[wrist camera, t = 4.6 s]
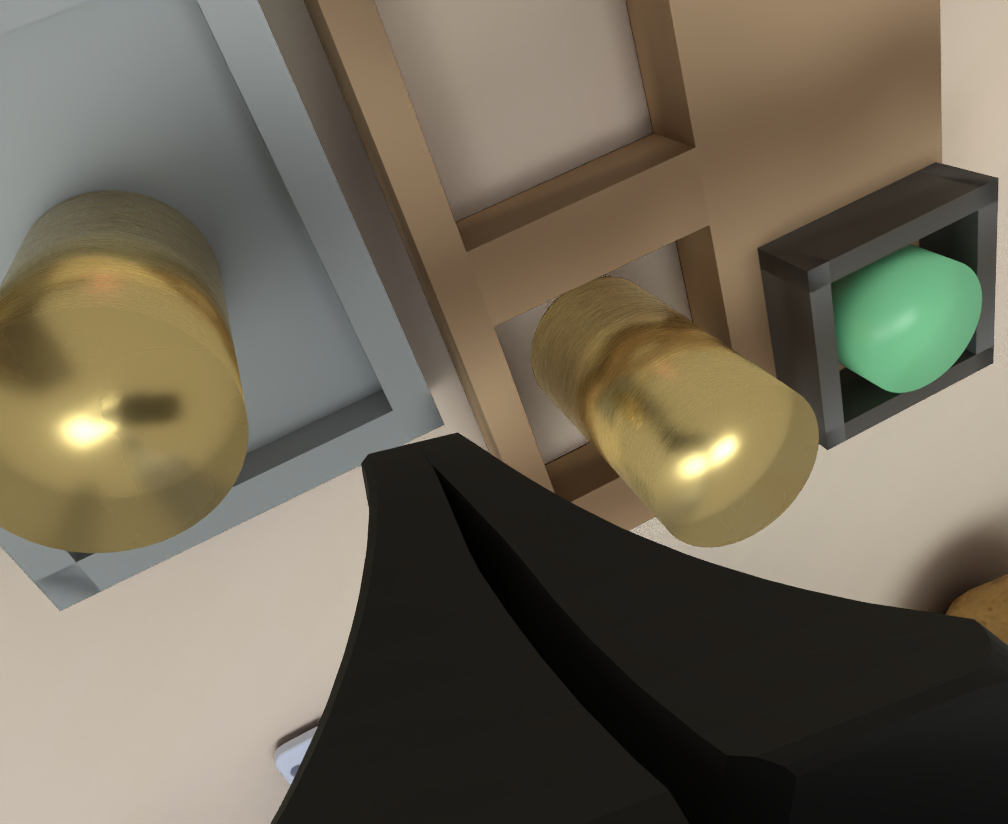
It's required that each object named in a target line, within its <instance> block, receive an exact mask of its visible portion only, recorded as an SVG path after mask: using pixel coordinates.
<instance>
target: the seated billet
mask: <svg viewBox="0 0 1008 824" xmlns="http://www.w3.org/2000/svg"><path fill="white" fill-rule="evenodd" d="M531 360H532V368H533V372H534V375H535V378H536V380H537V382H538V384H539V385H540V387H541V389H542V390H543V391H544V392H545V393H546V394H547V395H548V397H549V398H550V399H551V400H552V401H553V402H554V403H555V404H556V405H557V407H558V408H559V409H560V410H561V411H562V412H563V413H564V414H565V416H566V417H567V418H568V419H569V420H570V421H571V422H572V423H573V425H574V426H575V427H576V428H577V429H578V430H579V431H580V432H581V433H582V435H583V436H584V437H585V438H586V439H587V440H588V441H589V442H590V444H591V445H592V446H593V447H594V448H595V449H596V450H597V451H598V452H599V454H600V455H601V456H602V457H603V458H604V459H605V460H606V461H607V463H608V464H609V465H610V466H611V467H612V468H613V469H614V470H615V471H616V473H617V474H618V475H619V476H620V477H621V478H622V479H623V480H624V482H625V483H626V484H627V485H628V486H629V487H630V488H631V489H632V490H633V492H634V493H635V494H636V495H637V496H638V497H639V498H640V499H641V501H642V502H643V503H644V504H645V505H646V506H647V507H648V508H649V509H650V511H651V512H652V513H653V514H654V515H655V516H656V517H657V518H658V520H659V521H660V522H661V523H662V524H663V525H664V526H665V527H666V529H667V530H668V531H669V532H670V533H671V534H672V535H673V536H675V537H676V538H677V539H679V540H681V541H682V542H684V543H687V544H690V545H693V546H699V547H719V546H725V545H729V544H733V543H735V542H738V541H741V540H743V539H746V538H748V537H750V536H752V535H754V534H755V533H757V532H759V531H760V530H762V529H763V528H765V527H766V526H768V525H769V524H770V523H772V522H773V521H774V520H775V519H776V518H778V517H779V516H780V515H781V514H782V513H783V512H784V511H785V510H786V509H787V508H788V507H789V506H790V504H791V503H792V502H793V501H794V500H795V498H796V497H797V495H798V494H799V493H800V491H801V490H802V488H803V486H804V485H805V483H806V481H807V479H808V477H809V475H810V473H811V471H812V468H813V465H814V462H815V459H816V455H817V451H818V443H819V429H818V423H817V419H816V416H815V414H814V411H813V409H812V408H811V406H810V404H809V403H808V402H807V401H806V400H805V399H804V397H802V396H801V395H800V394H798V393H797V392H796V391H794V390H793V389H791V388H790V387H788V386H787V385H785V384H784V383H782V382H781V381H779V380H778V379H776V378H775V377H773V376H772V375H770V374H769V373H767V372H766V371H764V370H763V369H761V368H760V367H758V366H757V365H756V364H754V363H753V362H751V361H750V360H748V359H747V358H745V357H744V356H742V355H741V354H739V353H738V352H736V351H735V350H733V349H732V348H730V347H729V346H727V345H726V344H724V343H723V342H721V341H720V340H718V339H717V338H715V337H714V336H712V335H711V334H709V333H708V332H706V331H705V330H703V329H702V328H700V327H699V326H697V325H696V324H695V323H693V322H692V321H690V320H689V319H687V318H686V317H684V316H683V315H681V314H680V313H678V312H677V311H675V310H674V309H672V308H671V307H669V306H668V305H666V304H665V303H663V302H662V301H660V300H659V299H657V298H656V297H654V296H653V295H651V294H650V293H648V292H647V291H645V290H644V289H642V288H641V287H639V286H638V285H636V284H635V283H633V282H631V281H628V280H625V279H622V278H616V277H601V278H596V279H594V280H592V281H589V282H587V283H585V284H583V285H581V286H579V287H577V288H575V289H573V290H570V291H568V292H566V293H564V294H562V295H561V296H560V297H559V298H558V299H557V300H556V301H555V302H554V303H553V304H552V305H551V306H550V307H549V309H548V310H547V312H546V313H545V314H544V316H543V318H542V320H541V321H540V323H539V325H538V328H537V330H536V333H535V336H534V340H533V344H532V356H531Z"/></svg>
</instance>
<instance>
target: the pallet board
mask: <svg viewBox="0 0 1008 824" xmlns="http://www.w3.org/2000/svg"><path fill="white" fill-rule="evenodd" d="M304 2H305V4H306V7H307V9H308V12H309V14H310V17H311V19H312V21H313V24H314V26H315V29H316V31H317V34H318V36H319V38H320V41H321V43H322V46H323V48H324V51H325V53H326V56H327V58H328V60H329V63H330V65H331V68H332V70H333V73H334V75H335V77H336V80H337V82H338V85H339V87H340V90H341V92H342V94H343V97H344V99H345V102H346V104H347V107H348V109H349V111H350V114H351V116H352V119H353V121H354V124H355V126H356V128H357V131H358V133H359V136H360V138H361V141H362V143H363V146H364V148H365V150H366V153H367V155H368V158H369V160H370V163H371V165H372V167H373V170H374V172H375V175H376V177H377V180H378V182H379V184H380V187H381V189H382V192H383V194H384V197H385V199H386V201H387V204H388V206H389V209H390V211H391V214H392V216H393V218H394V221H395V223H396V226H397V228H398V231H399V233H400V236H401V238H402V240H403V243H404V245H405V248H406V250H407V253H408V255H409V257H410V260H411V262H412V265H413V267H414V270H415V272H416V274H417V277H418V279H419V282H420V284H421V287H422V289H423V291H424V294H425V296H426V299H427V301H428V304H429V306H430V308H431V311H432V313H433V316H434V318H435V321H436V323H437V326H438V328H439V330H440V333H441V335H442V338H443V340H444V343H445V345H446V347H447V350H448V352H449V355H450V357H451V360H452V362H453V364H454V367H455V369H456V372H457V374H458V377H459V379H460V381H461V384H462V386H463V389H464V391H465V394H466V396H467V398H468V401H469V403H470V406H471V408H472V411H473V413H474V416H475V418H476V420H477V423H478V425H479V428H480V430H481V433H482V435H483V437H484V440H485V442H486V445H487V447H488V450H489V452H490V454H491V455H493V456H495V457H496V458H498V459H499V460H501V461H502V462H504V463H505V464H507V465H509V466H510V467H512V468H513V469H515V470H516V471H518V472H520V473H521V474H523V475H525V476H526V477H528V478H529V479H531V480H533V481H534V482H536V483H538V484H540V485H541V486H543V487H545V488H546V489H548V490H550V491H552V492H553V493H555V494H557V495H559V496H560V497H562V498H564V499H566V500H568V501H569V502H571V503H573V504H575V505H577V506H579V507H581V508H583V509H585V510H587V511H589V512H591V513H593V514H595V515H597V516H599V517H601V518H603V519H605V520H607V521H609V522H611V523H613V524H615V525H617V526H619V527H621V528H623V529H625V530H628V531H629V530H631V529H633V528H635V527H637V526H639V525H641V524H642V523H644V522H646V521H648V520H650V519H652V518H654V517H656V516H655V515H654V514H653V513H652V512H651V511H650V509H649V508H648V507H647V506H646V505H645V504H644V503H643V502H642V501H641V499H640V498H639V497H638V496H637V495H636V494H635V493H634V492H633V490H632V489H631V488H630V487H629V486H628V485H627V484H626V483H625V482H624V480H623V479H622V478H621V477H620V476H619V475H618V474H617V473H616V471H615V470H614V469H613V468H612V467H611V466H610V465H609V464H608V463H607V461H606V460H605V459H604V458H603V457H602V456H601V455H600V454H599V452H598V451H597V450H596V449H595V448H594V447H593V446H592V445H591V444H590V443H589V444H587V445H585V446H583V447H581V448H579V449H577V450H575V451H573V452H571V453H569V454H567V455H565V456H563V457H561V458H559V459H557V460H555V461H553V462H551V463H549V464H547V465H544V462H543V460H542V457H541V454H540V451H539V449H538V446H537V443H536V441H535V438H534V435H533V432H532V430H531V427H530V424H529V422H528V419H527V416H526V413H525V411H524V408H523V405H522V402H521V400H520V397H519V394H518V392H517V389H516V386H515V383H514V381H513V378H512V375H511V372H510V370H509V367H508V364H507V362H506V359H505V356H504V353H503V351H502V348H501V345H500V343H499V340H498V337H497V334H496V332H495V329H494V326H496V325H498V324H501V323H503V322H505V321H507V320H509V319H511V318H513V317H515V316H517V315H520V314H522V313H524V312H526V311H528V310H530V309H532V308H534V307H537V306H539V305H541V304H543V303H545V302H547V301H549V300H551V299H553V298H556V297H558V296H560V295H562V294H564V293H566V292H568V291H570V290H573V289H575V288H577V287H579V286H581V285H583V284H585V283H587V282H589V281H592V280H594V279H596V278H598V277H600V276H602V275H604V274H606V273H608V272H611V271H613V270H615V269H617V268H619V267H621V266H623V265H625V264H628V263H630V262H632V261H634V260H636V259H638V258H640V257H642V256H644V255H647V254H649V253H651V252H653V251H655V250H657V249H659V248H661V247H664V246H666V245H668V244H670V243H672V242H674V241H676V242H677V247H678V252H679V257H680V262H681V266H682V271H683V276H684V281H685V285H686V290H687V295H688V300H689V305H690V309H691V314H692V319H693V323H695V324H696V325H697V326H699V327H700V328H702V329H703V330H705V331H706V332H708V333H709V334H711V335H712V336H714V337H715V338H717V339H718V340H720V341H721V342H723V343H724V344H726V345H727V346H729V347H730V348H732V349H733V350H735V351H736V352H738V353H739V354H741V355H742V356H744V357H745V358H747V359H748V360H750V361H751V362H753V363H754V364H756V365H757V366H758V367H760V368H761V369H763V370H764V371H766V372H767V373H769V374H770V375H772V376H773V377H775V378H776V379H778V380H779V381H781V382H782V383H784V384H785V385H787V386H788V387H790V388H791V389H793V390H794V391H796V392H797V393H798V394H800V395H801V396H802V397H804V399H805V400H806V401H807V402H808V403H809V404H810V406H811V408H812V409H813V411H814V414H815V416H816V419H817V423H818V429H819V444H820V445H821V446H823V447H824V448H826V449H827V450H829V449H831V448H832V447H834V446H836V445H838V444H840V443H842V442H844V441H846V440H848V439H850V438H852V437H853V436H855V435H857V434H859V433H861V432H863V431H865V430H867V429H869V428H871V427H872V426H874V425H876V424H878V423H880V422H882V421H884V420H886V419H888V418H890V417H891V416H893V415H895V414H897V413H899V412H901V411H903V410H905V409H907V408H909V407H910V406H912V405H914V404H916V403H918V402H920V401H922V400H924V399H926V398H928V397H929V396H931V395H933V394H935V393H937V392H939V391H941V390H943V389H945V388H947V387H948V386H950V385H952V384H954V383H956V382H958V381H960V380H962V379H964V378H966V377H967V376H969V375H971V374H973V373H975V372H977V371H979V370H981V369H983V368H985V367H986V366H988V365H990V364H992V363H993V352H994V317H995V282H996V247H997V212H998V178H996V177H992V176H988V175H984V174H980V173H976V172H972V171H968V170H964V169H961V168H957V167H953V166H949V165H945V164H942V132H941V44H940V0H626V3H627V8H628V12H629V17H630V22H631V27H632V32H633V36H634V41H635V46H636V51H637V55H638V60H639V65H640V70H641V75H642V79H643V84H644V89H645V94H646V99H647V103H648V108H649V113H650V118H651V123H652V127H653V132H654V133H653V134H651V135H649V136H647V137H644V138H642V139H640V140H638V141H636V142H633V143H631V144H629V145H627V146H624V147H622V148H620V149H618V150H616V151H613V152H611V153H609V154H607V155H604V156H602V157H600V158H598V159H596V160H593V161H591V162H589V163H587V164H584V165H582V166H580V167H578V168H576V169H573V170H571V171H569V172H567V173H565V174H562V175H560V176H558V177H556V178H553V179H551V180H549V181H547V182H545V183H542V184H540V185H538V186H536V187H533V188H531V189H529V190H527V191H525V192H522V193H520V194H518V195H516V196H513V197H511V198H509V199H507V200H505V201H502V202H500V203H498V204H496V205H493V206H491V207H489V208H487V209H485V210H482V211H480V212H478V213H476V214H473V215H471V216H469V217H467V218H465V219H462V220H460V221H458V222H456V223H455V220H454V217H453V214H452V212H451V209H450V206H449V204H448V201H447V198H446V195H445V193H444V190H443V187H442V185H441V182H440V179H439V176H438V174H437V171H436V168H435V165H434V163H433V160H432V157H431V155H430V152H429V149H428V146H427V144H426V141H425V138H424V135H423V133H422V130H421V127H420V125H419V122H418V119H417V116H416V114H415V111H414V108H413V106H412V103H411V100H410V97H409V95H408V92H407V89H406V86H405V84H404V81H403V78H402V76H401V73H400V70H399V67H398V65H397V62H396V59H395V56H394V54H393V51H392V48H391V46H390V43H389V40H388V37H387V35H386V32H385V29H384V27H383V24H382V21H381V18H380V16H379V13H378V10H377V7H376V5H375V2H374V0H304ZM909 244H912V245H915V246H918V247H920V248H923V249H926V250H928V251H931V252H934V253H937V254H939V255H942V256H945V257H947V258H950V259H953V260H955V261H958V262H961V263H963V264H965V265H967V266H968V267H970V268H971V269H972V270H973V271H974V273H975V274H976V276H977V277H978V280H979V282H980V285H981V290H982V308H981V313H980V318H979V321H978V324H977V327H976V329H975V332H974V334H973V336H972V338H971V340H970V342H969V344H968V345H967V347H966V349H965V350H964V351H963V353H962V354H961V356H960V357H959V358H958V359H957V361H956V362H955V363H954V364H953V365H952V366H951V367H950V368H949V369H948V370H947V371H946V372H945V373H944V374H942V375H941V376H940V377H939V378H937V379H936V380H935V381H933V382H931V383H930V384H928V385H926V386H924V387H922V388H920V389H917V390H914V391H910V392H905V393H895V392H889V391H886V390H884V389H882V388H880V387H879V386H877V385H875V384H874V383H872V382H870V381H869V380H867V379H865V378H863V377H862V376H860V375H858V374H857V373H855V372H853V371H851V370H850V369H848V368H846V367H845V366H843V365H841V364H840V363H838V354H837V343H836V333H835V323H834V313H833V302H832V292H831V283H832V282H834V281H836V280H838V279H840V278H842V277H844V276H846V275H848V274H850V273H852V272H854V271H856V270H858V269H860V268H862V267H864V266H866V265H868V264H870V263H872V262H874V261H876V260H879V259H881V258H883V257H885V256H887V255H889V254H891V253H893V252H895V251H897V250H899V249H901V248H903V247H905V246H907V245H909Z"/></svg>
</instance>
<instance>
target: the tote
mask: <svg viewBox="0 0 1008 824" xmlns="http://www.w3.org/2000/svg"><path fill="white" fill-rule="evenodd" d="M104 190H117V191H128V192H133V193H139V194H142V195H145V196H149V197H152V198H154V199H157V200H159V201H161V202H164V203H166V204H167V205H169V206H171V207H173V208H174V209H176V210H177V211H179V212H180V213H182V214H183V215H184V216H186V217H187V218H188V219H189V220H190V221H191V222H192V223H193V224H194V225H196V226H197V228H198V229H199V230H200V231H201V232H202V234H203V235H204V236H205V238H206V239H207V241H208V242H209V244H210V245H211V247H212V249H213V251H214V254H215V256H216V258H217V261H218V264H219V268H220V272H221V278H222V283H223V288H224V294H225V299H226V305H227V310H228V315H229V321H230V326H231V332H232V337H233V342H234V348H235V353H236V359H237V364H238V369H239V375H240V380H241V386H242V391H243V396H244V402H245V407H246V413H247V419H248V446H247V453H246V456H245V460H244V463H243V466H242V469H241V471H240V473H239V476H238V478H237V480H236V482H235V483H234V485H233V486H232V488H231V490H230V491H229V493H228V494H227V495H226V497H225V498H224V499H223V500H222V501H221V502H220V504H219V505H218V506H217V507H216V508H215V509H214V510H213V511H212V512H210V513H209V514H208V515H207V516H206V517H205V518H204V519H202V520H201V521H199V522H198V523H196V524H195V525H194V526H192V527H191V528H189V529H187V530H185V531H183V532H182V533H180V534H178V535H176V536H174V537H172V538H169V539H167V540H164V541H162V542H160V543H156V544H153V545H150V546H146V547H143V548H138V549H133V550H128V551H122V552H111V553H82V552H72V551H65V550H60V549H55V548H50V547H46V546H43V545H40V544H37V543H33V542H30V541H28V540H26V539H23V538H21V537H19V536H16V535H14V534H12V533H10V532H9V531H7V530H5V529H3V528H2V527H0V546H1V547H2V548H3V549H4V550H5V551H6V553H7V554H8V555H9V556H10V557H11V558H12V559H13V560H14V561H15V562H16V563H17V565H18V566H19V567H20V568H21V569H22V570H23V571H24V572H25V573H26V574H27V575H28V577H29V578H30V579H31V580H32V581H33V582H34V583H35V584H36V585H37V586H38V588H39V589H40V590H41V591H42V592H43V593H44V594H45V595H46V596H47V597H48V598H49V600H50V601H51V602H52V603H53V604H54V605H55V606H56V607H57V608H58V609H59V610H60V611H61V610H63V609H65V608H68V607H70V606H72V605H74V604H76V603H78V602H80V601H82V600H84V599H86V598H88V597H90V596H92V595H94V594H96V593H98V592H100V591H103V590H105V589H107V588H109V587H111V586H113V585H115V584H117V583H119V582H121V581H123V580H125V579H127V578H129V577H131V576H133V575H135V574H138V573H140V572H142V571H144V570H146V569H148V568H150V567H152V566H154V565H156V564H158V563H160V562H162V561H164V560H166V559H168V558H170V557H173V556H175V555H177V554H179V553H181V552H183V551H185V550H187V549H189V548H191V547H193V546H195V545H197V544H199V543H201V542H203V541H205V540H208V539H210V538H212V537H214V536H216V535H218V534H220V533H222V532H224V531H226V530H228V529H230V528H232V527H234V526H236V525H238V524H241V523H243V522H245V521H247V520H249V519H251V518H253V517H255V516H257V515H259V514H261V513H263V512H265V511H267V510H269V509H271V508H273V507H276V506H278V505H280V504H282V503H284V502H286V501H288V500H290V499H292V498H294V497H296V496H298V495H300V494H302V493H304V492H306V491H308V490H311V489H313V488H315V487H317V486H319V485H321V484H323V483H325V482H327V481H329V480H331V479H333V478H335V477H337V476H339V475H341V474H343V473H346V472H348V471H350V470H352V469H354V468H356V467H358V466H360V465H361V463H362V461H363V460H364V459H365V458H366V456H367V455H368V454H370V453H374V452H378V451H383V450H387V449H391V448H395V447H399V446H401V445H403V444H405V443H407V442H409V441H411V440H413V439H416V438H418V437H420V436H422V435H424V434H426V433H428V432H430V431H432V430H434V429H436V428H438V427H440V426H442V425H444V423H443V420H442V418H441V416H440V413H439V411H438V409H437V407H436V404H435V402H434V400H433V398H432V395H431V393H430V391H429V388H428V386H427V384H426V382H425V379H424V377H423V375H422V373H421V370H420V368H419V366H418V363H417V361H416V359H415V357H414V354H413V352H412V350H411V348H410V345H409V343H408V341H407V338H406V336H405V334H404V332H403V329H402V327H401V325H400V323H399V320H398V318H397V316H396V313H395V311H394V309H393V307H392V304H391V302H390V300H389V298H388V295H387V293H386V291H385V288H384V286H383V284H382V282H381V279H380V277H379V275H378V273H377V270H376V268H375V266H374V263H373V261H372V259H371V257H370V254H369V252H368V250H367V248H366V245H365V243H364V241H363V238H362V236H361V234H360V232H359V229H358V227H357V225H356V223H355V220H354V218H353V216H352V213H351V211H350V209H349V207H348V204H347V202H346V200H345V198H344V195H343V193H342V191H341V189H340V186H339V184H338V182H337V179H336V177H335V175H334V173H333V170H332V168H331V166H330V164H329V161H328V159H327V157H326V154H325V152H324V150H323V148H322V145H321V143H320V141H319V139H318V136H317V134H316V132H315V129H314V127H313V125H312V123H311V120H310V118H309V116H308V114H307V111H306V109H305V107H304V104H303V102H302V100H301V98H300V95H299V93H298V91H297V89H296V86H295V84H294V82H293V79H292V77H291V75H290V73H289V70H288V68H287V66H286V64H285V61H284V59H283V57H282V54H281V52H280V50H279V48H278V45H277V43H276V41H275V39H274V36H273V34H272V32H271V29H270V27H269V25H268V23H267V20H266V18H265V16H264V14H263V11H262V9H261V7H260V4H259V2H258V0H0V285H1V283H2V281H3V279H4V277H5V275H6V273H7V271H8V269H9V267H10V266H11V264H12V262H13V260H14V258H15V256H16V254H17V252H18V250H19V248H20V246H21V244H22V242H23V240H24V239H25V237H26V235H27V233H28V231H29V230H30V228H31V227H32V226H33V225H34V223H35V222H36V221H37V220H38V219H39V218H40V217H41V216H42V215H43V214H44V213H45V212H46V211H48V210H49V209H51V208H52V207H54V206H55V205H57V204H58V203H60V202H62V201H64V200H66V199H68V198H71V197H74V196H77V195H80V194H84V193H89V192H94V191H104Z"/></svg>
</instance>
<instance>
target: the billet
mask: <svg viewBox="0 0 1008 824" xmlns="http://www.w3.org/2000/svg"><path fill="white" fill-rule="evenodd" d="M247 446H248V419H247V413H246V407H245V402H244V396H243V391H242V386H241V380H240V375H239V369H238V364H237V359H236V353H235V348H234V342H233V337H232V332H231V326H230V321H229V315H228V310H227V305H226V299H225V294H224V288H223V283H222V278H221V272H220V268H219V264H218V261H217V258H216V256H215V254H214V251H213V249H212V247H211V245H210V244H209V242H208V241H207V239H206V238H205V236H204V235H203V234H202V232H201V231H200V230H199V229H198V228H197V226H196V225H194V224H193V223H192V222H191V221H190V220H189V219H188V218H187V217H186V216H184V215H183V214H182V213H180V212H179V211H177V210H176V209H174V208H173V207H171V206H169V205H167V204H166V203H164V202H161V201H159V200H157V199H154V198H152V197H149V196H145V195H142V194H139V193H133V192H128V191H117V190H104V191H94V192H89V193H84V194H80V195H77V196H74V197H71V198H68V199H66V200H64V201H62V202H60V203H58V204H57V205H55V206H54V207H52V208H51V209H49V210H48V211H46V212H45V213H44V214H43V215H42V216H41V217H40V218H39V219H38V220H37V221H36V222H35V223H34V225H33V226H32V227H31V228H30V230H29V231H28V233H27V235H26V237H25V239H24V240H23V242H22V244H21V246H20V248H19V250H18V252H17V254H16V256H15V258H14V260H13V262H12V264H11V266H10V267H9V269H8V271H7V273H6V275H5V277H4V279H3V281H2V283H1V285H0V527H2V528H3V529H5V530H7V531H9V532H10V533H12V534H14V535H16V536H19V537H21V538H23V539H26V540H28V541H30V542H33V543H37V544H40V545H43V546H46V547H50V548H55V549H60V550H65V551H72V552H82V553H111V552H122V551H128V550H133V549H138V548H143V547H146V546H150V545H153V544H156V543H160V542H162V541H164V540H167V539H169V538H172V537H174V536H176V535H178V534H180V533H182V532H183V531H185V530H187V529H189V528H191V527H192V526H194V525H195V524H196V523H198V522H199V521H201V520H202V519H204V518H205V517H206V516H207V515H208V514H209V513H210V512H212V511H213V510H214V509H215V508H216V507H217V506H218V505H219V504H220V502H221V501H222V500H223V499H224V498H225V497H226V495H227V494H228V493H229V491H230V490H231V488H232V486H233V485H234V483H235V482H236V480H237V478H238V476H239V473H240V471H241V469H242V466H243V463H244V460H245V456H246V453H247Z"/></svg>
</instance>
